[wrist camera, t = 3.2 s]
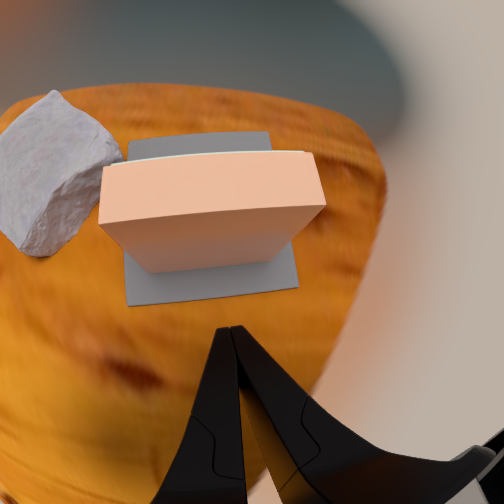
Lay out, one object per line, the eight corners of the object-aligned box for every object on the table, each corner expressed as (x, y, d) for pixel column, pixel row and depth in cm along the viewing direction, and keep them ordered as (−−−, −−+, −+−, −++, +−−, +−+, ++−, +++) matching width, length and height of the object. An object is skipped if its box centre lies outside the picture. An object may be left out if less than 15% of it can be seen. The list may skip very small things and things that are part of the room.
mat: (297, 287, 16) (299, 286, 16) (128, 306, 14) (126, 305, 14) (267, 134, 19) (268, 131, 19) (129, 143, 17) (129, 141, 17)
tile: (270, 261, 16) (326, 204, 8) (149, 274, 15) (98, 224, 7) (264, 225, 17) (310, 148, 9) (147, 236, 15) (104, 161, 8)
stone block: (61, 278, 16) (143, 163, 17) (15, 274, 11) (114, 126, 12) (4, 193, 16) (67, 105, 18) (-30, 178, 12) (41, 77, 13)
